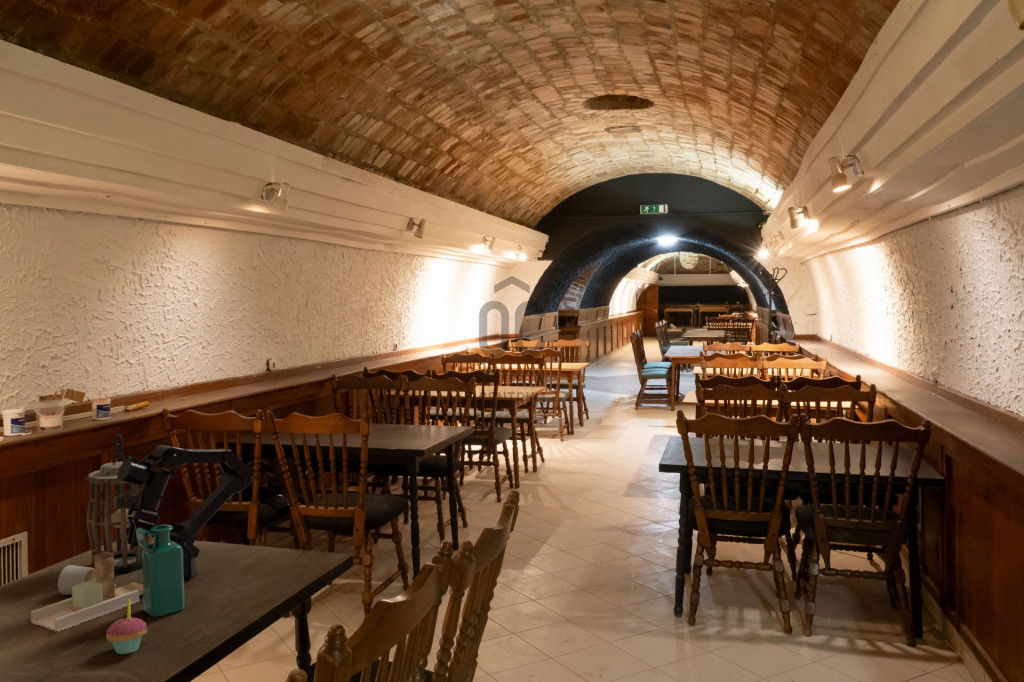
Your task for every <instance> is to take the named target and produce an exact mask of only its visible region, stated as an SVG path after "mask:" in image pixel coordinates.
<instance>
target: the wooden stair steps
mask: <svg viewBox="0 0 1024 682" xmlns="http://www.w3.org/2000/svg"><path fill="white" fill-rule="evenodd" d="M94 558H95V582H98V583H102V585H103V602H104V601H106V600H109V599H112V598H115V597H118V596H120V595H123V594H126V593H129V592H132V591H135V590H138V591H139V596H141V595H142V596H143V583H138V582H131V583H129V584H125V585H122V586H119V587H116V589H115V586H114V584H115V575H114V554H113V553H109V552H103V553H100V554H97V555H94ZM69 609H72V610H75V611H78V610H81V609H82V608H79V607H76V606H73V604H70V605H69Z"/></svg>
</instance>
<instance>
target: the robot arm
mask: <svg viewBox="0 0 1024 682" xmlns="http://www.w3.org/2000/svg"><path fill="white" fill-rule="evenodd" d="M125 460H126V461H125V462H123V461H122V462H123V464H122V465H121V466H120V467H119V469H118V473H117V477H118V479H119V480H120V481H124V482H128V483H131V484H135V485H138V486H139V485H142V484H143V483H144V484H143V487H142V489H141V490H140V489H139V490H140V491H138V494H137V495H130V493H129V492H127V493H123V494H122V496H115V495H114V499H113V502H114V505H113V508H114V509H120V508H124V507H126V508H129V509H128V512H127V515H130V516H127V518H128V520H129V522H130V524H129V530H128V534H127V537H128V540H127V545H128V544H129V545H130V544H131V547H134V548H136V546H137V545H138V541H137V535H136V529H137V528H143V529H145V530H147V531H150V530H151V528H153V527H155V526H157V525H158V524H159V522H160V518H161V517H160V515H159V513H158V508H159V506H160V502H161V501H162V500H163V498H164V492H165V489H167V488H166V487H167V485H168V482H169V479H170V478H174V479H177V478H178V475H177V473H176V471H175V469H174V468H177V467H181V466H184V465H187V464H193V463H194V464H198V463H199V464H203V463H204V464H205V463H207V464H208V463H218V464H219V468H220V470H221V471H222V473H223V474H222V475H221V478H220V480H219V484H218V486H217V487H216V488H215V489H214V490H213V491H212V492H211V493H210V494H209V495H208V497H206V498H205V499H204V501H203V502H202V503H201V504H199V506H198V507H197V508H196V509H195V510H194V511H193V512H192V513H191V514H190V515H189V516H188V517H187V518H186V520H184V521H182V522H181V523H178V522H177V521H176V522H175V521H173V523H171V526H173V529H172V530H170V531H169V537H170V541H173V542H175V543H177V544H179V545H181V546H182V549H183V575H184V582H189V581H191V580H193V579H194V578H195V577H196V576H197V575H199V571H197V565H196V564H197V559H196V558H198V557H199V554H200V548H198V547H197V546H195V545H194V544H195V542H196V539H197V535H198V533H199V532H200V530H202V528H203V527H204V526H205V525H206V523H208V522H209V520H210V519H211V518H212V517H213V516H214V515H215V514H216V513H217V512H218V511H219V510H220V509H221V508H222V506H223V505H225V504H226V502H227V501H228V500H229V499H230V498H231V497H232V496H233V495H235V494H238V493H240V492H241V491H243V490H244V489H246V488H247V487H248V486H249V485H250V484H252V482H253V481H254V471H253V469H252V468H250V467H249V466H247V464H245V463H244V462H243V461H242V460H241V459H240V458H238V456H236V454H235V453H234V452H233V450H232V449H227V448H226V449H225V448H218V449H217V448H216V449H215V448H214V449H212V448H207V449H206V448H203V449H202V448H201V449H200V448H191V449H190V448H181V447H180V448H179V447H176V446H171V445H165V444H159V445H156V447H155V448H154V449H153V451H152V452H151V453H150V454H148V455H147V456H145V457H144V458H142V459H139V458H137V457H134V456H130V455H128V457H127V459H125ZM153 468H155V469H153ZM166 468H167V469H166ZM128 483H127V484H128ZM145 487H146V488H145ZM146 535H147V534H145V537H146Z"/></svg>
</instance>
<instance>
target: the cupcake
mask: <svg viewBox="0 0 1024 682" xmlns="http://www.w3.org/2000/svg"><path fill="white" fill-rule="evenodd" d="M131 607H132V605H131V599H130V595H129V599H128V606H127V615H126V617H125V618H120V619H118V620H116V621H114V622H113V623H112V624H111V625H110V626H109V627H108V628H107V629H106V631H105V632H106V634H105V637H106V640H107V642H110V643H111V644H112V646H113V648H114V651H115V653H116V654H119V655H128V654H131V652H132V653H134V652H136V651H138V649H139V648H140V644H141V640H142V638H143V636H145V635H146V634H147V631H148V628H147V622H145V621H144V620H143V619H141V618H138V617H133V616H131V614H132V613H131V609H132V608H131Z"/></svg>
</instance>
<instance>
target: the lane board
mask: <svg viewBox="0 0 1024 682" xmlns="http://www.w3.org/2000/svg"><path fill="white" fill-rule="evenodd" d="M114 586H115V589H116V588H117V584H116V583H114ZM129 595H130V599H131V604H132V605H134V603H135V604H137V603H136V602H138V603H139V602H140V595H139V591H138V590H135V591H132V592H129V593H126V594H123V595H120V596H118V597H115V598H112V599H109V600H106V601H104V602H101V603H98V604H95V605H92V606H89V607H87V608H84V609H81V610H78V611H75V610H72V609H69V605H70V604H73V599H72V597H70V598H66V599H63V600H60V601H58V602H53V603H51V604H48V605H45V606H43V607H38V608H37V609H33V610H31V611H30V614H31V615H30V618H31V620H30V621H31V624H33V623H34V624H33V625H36V624H37V625H36V626H38V625H40V626H39V627H41V626H43V627H42V628H44V627H46V628H45V629H47V628H49V629H48V630H50V629H51V631H53V630H55V631H54V632H56V631H57V632H56V633H59V632H62V631H64V629H65V630H67V629H70V628H73V627H75V626H78V625H81V624H83V623H82V622H84V623H86V622H88V620H89V621H91V619H92V620H94V619H96V617H97V618H100V617H102V616H105V615H108V614H111V613H113V612H116V611H118V609H119V610H121V609H123V607H124V608H126V606H127V607H128V599H129ZM110 612H111V613H110ZM104 614H105V615H104ZM99 616H100V617H99ZM93 618H94V619H93ZM85 621H86V622H85ZM80 623H81V624H80ZM72 626H73V627H72ZM61 630H62V631H61ZM58 631H59V632H58Z"/></svg>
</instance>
